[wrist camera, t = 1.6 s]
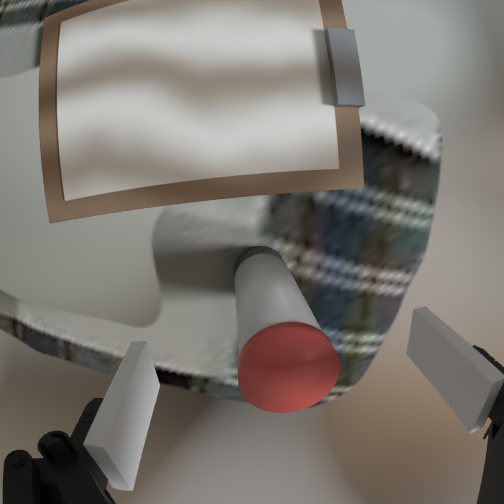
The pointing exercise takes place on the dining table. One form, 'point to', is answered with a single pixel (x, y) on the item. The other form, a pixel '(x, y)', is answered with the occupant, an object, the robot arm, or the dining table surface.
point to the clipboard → (196, 103)
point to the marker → (278, 337)
